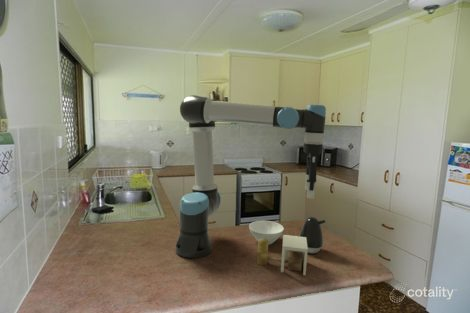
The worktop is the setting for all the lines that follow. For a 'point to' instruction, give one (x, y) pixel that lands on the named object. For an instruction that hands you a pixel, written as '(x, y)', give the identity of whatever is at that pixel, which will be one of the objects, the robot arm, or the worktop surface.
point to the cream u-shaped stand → (294, 249)
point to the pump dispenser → (312, 234)
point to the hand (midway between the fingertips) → (309, 193)
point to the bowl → (266, 230)
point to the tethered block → (293, 258)
